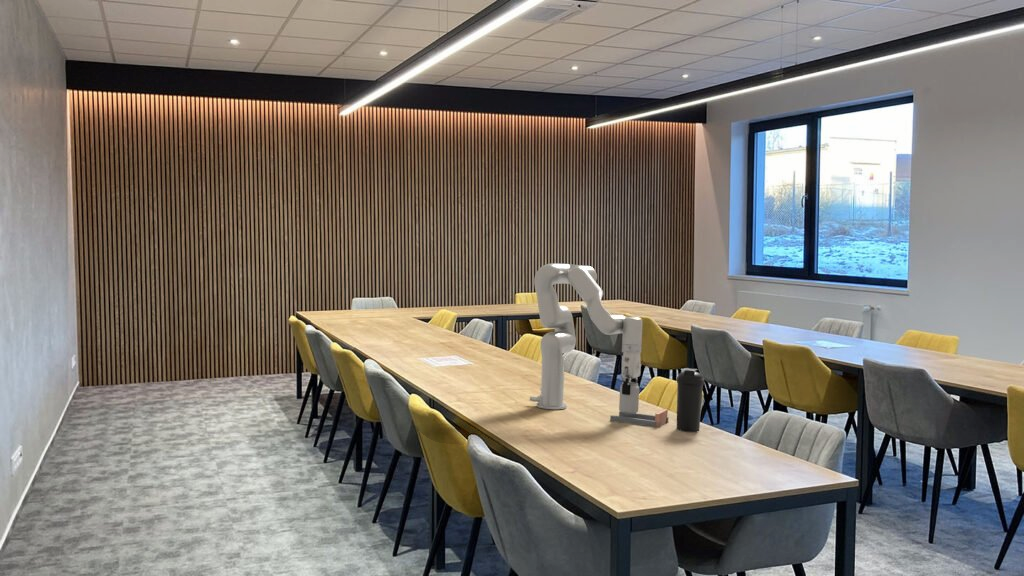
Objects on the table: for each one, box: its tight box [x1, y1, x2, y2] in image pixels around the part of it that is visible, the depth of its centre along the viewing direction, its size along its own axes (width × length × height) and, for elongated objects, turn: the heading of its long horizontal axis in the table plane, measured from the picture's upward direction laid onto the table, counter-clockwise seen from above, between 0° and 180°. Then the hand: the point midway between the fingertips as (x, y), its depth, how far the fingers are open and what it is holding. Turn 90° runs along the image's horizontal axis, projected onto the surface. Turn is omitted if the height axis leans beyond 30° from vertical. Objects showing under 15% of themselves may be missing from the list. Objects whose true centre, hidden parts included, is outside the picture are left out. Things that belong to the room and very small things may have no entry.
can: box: [618, 382, 640, 414], centre depth 337 cm, size 8×8×12 cm
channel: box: [609, 408, 670, 428], centre depth 335 cm, size 20×11×5 cm, turn 63°
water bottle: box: [676, 367, 705, 433], centre depth 324 cm, size 10×10×23 cm
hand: (629, 392), depth 337 cm, fingers closed on can, 7 cm apart
